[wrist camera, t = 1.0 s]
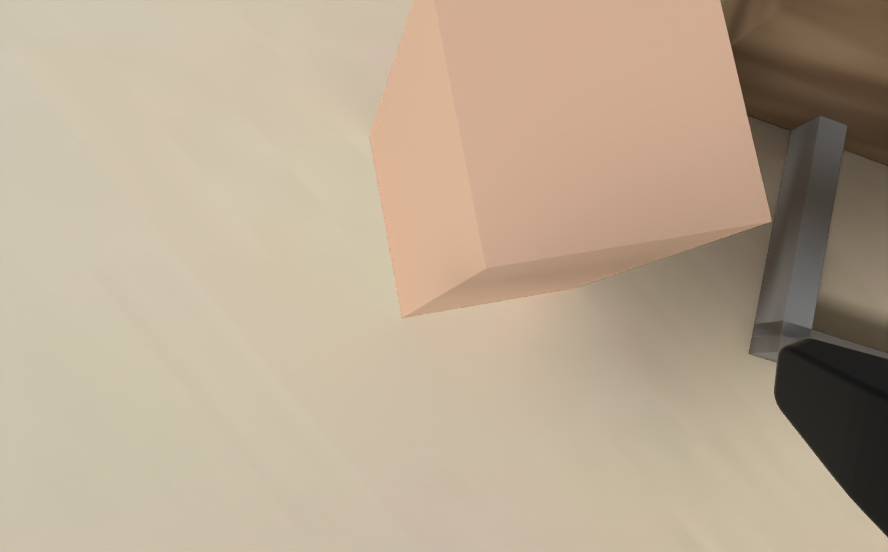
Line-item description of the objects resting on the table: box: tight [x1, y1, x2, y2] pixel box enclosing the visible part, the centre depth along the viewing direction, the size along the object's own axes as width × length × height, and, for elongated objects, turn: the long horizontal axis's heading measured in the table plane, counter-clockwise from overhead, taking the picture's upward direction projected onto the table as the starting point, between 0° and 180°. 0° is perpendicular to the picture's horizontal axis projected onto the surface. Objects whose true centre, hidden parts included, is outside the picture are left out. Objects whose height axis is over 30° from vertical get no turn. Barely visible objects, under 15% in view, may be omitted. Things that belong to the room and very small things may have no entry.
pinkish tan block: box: [369, 0, 772, 318], centre depth 19 cm, size 6×6×10 cm
